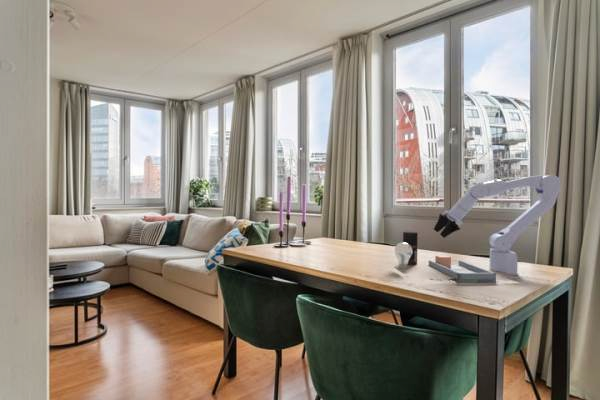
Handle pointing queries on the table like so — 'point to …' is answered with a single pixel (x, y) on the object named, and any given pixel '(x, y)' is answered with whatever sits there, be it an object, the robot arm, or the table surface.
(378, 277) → the table surface
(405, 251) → the light bulb
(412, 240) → the dark brown rectangular block
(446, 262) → the block
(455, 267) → the trap box
